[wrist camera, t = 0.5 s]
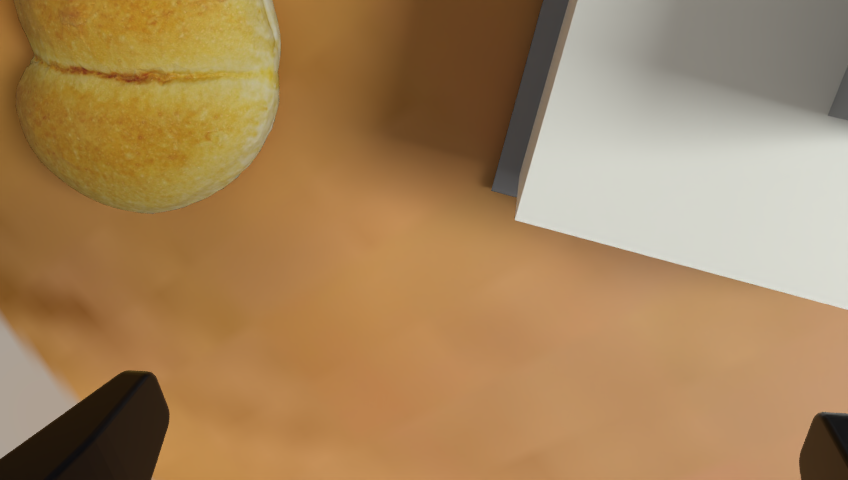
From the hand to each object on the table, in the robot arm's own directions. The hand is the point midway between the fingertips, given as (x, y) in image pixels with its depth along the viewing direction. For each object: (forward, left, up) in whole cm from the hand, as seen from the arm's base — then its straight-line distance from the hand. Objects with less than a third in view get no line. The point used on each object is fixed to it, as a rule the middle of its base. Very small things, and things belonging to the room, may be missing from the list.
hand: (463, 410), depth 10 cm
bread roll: (+7, +10, -14) cm, 18 cm away
